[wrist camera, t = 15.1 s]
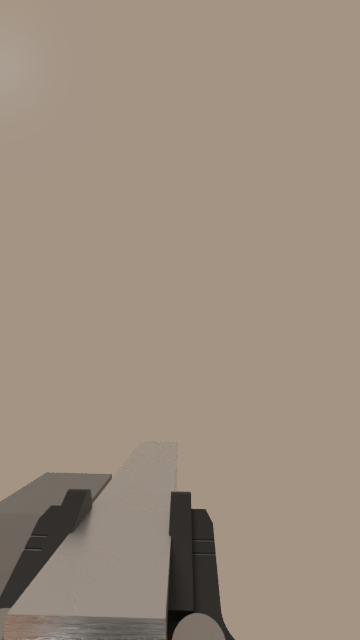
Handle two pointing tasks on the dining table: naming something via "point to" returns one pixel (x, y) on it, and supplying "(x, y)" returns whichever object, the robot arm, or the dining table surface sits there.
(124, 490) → the aluminium bar
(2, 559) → the pedestal stand
